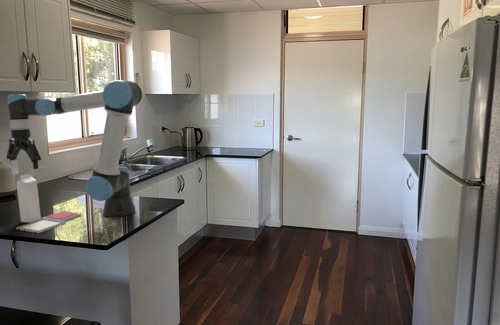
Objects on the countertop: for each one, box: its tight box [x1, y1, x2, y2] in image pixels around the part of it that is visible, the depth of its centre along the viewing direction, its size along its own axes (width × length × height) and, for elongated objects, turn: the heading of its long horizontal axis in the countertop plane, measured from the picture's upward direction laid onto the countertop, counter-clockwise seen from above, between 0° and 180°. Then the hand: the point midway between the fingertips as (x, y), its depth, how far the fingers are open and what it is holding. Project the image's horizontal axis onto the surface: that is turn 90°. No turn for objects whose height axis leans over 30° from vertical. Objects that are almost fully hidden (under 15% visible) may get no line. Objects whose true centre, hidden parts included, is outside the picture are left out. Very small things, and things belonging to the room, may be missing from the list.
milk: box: [16, 172, 42, 224], centre depth 190 cm, size 6×6×22 cm
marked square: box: [16, 218, 67, 234], centre depth 182 cm, size 14×14×1 cm
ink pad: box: [41, 210, 82, 222], centre depth 194 cm, size 12×12×2 cm
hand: (25, 174), depth 189 cm, fingers open, 13 cm apart
